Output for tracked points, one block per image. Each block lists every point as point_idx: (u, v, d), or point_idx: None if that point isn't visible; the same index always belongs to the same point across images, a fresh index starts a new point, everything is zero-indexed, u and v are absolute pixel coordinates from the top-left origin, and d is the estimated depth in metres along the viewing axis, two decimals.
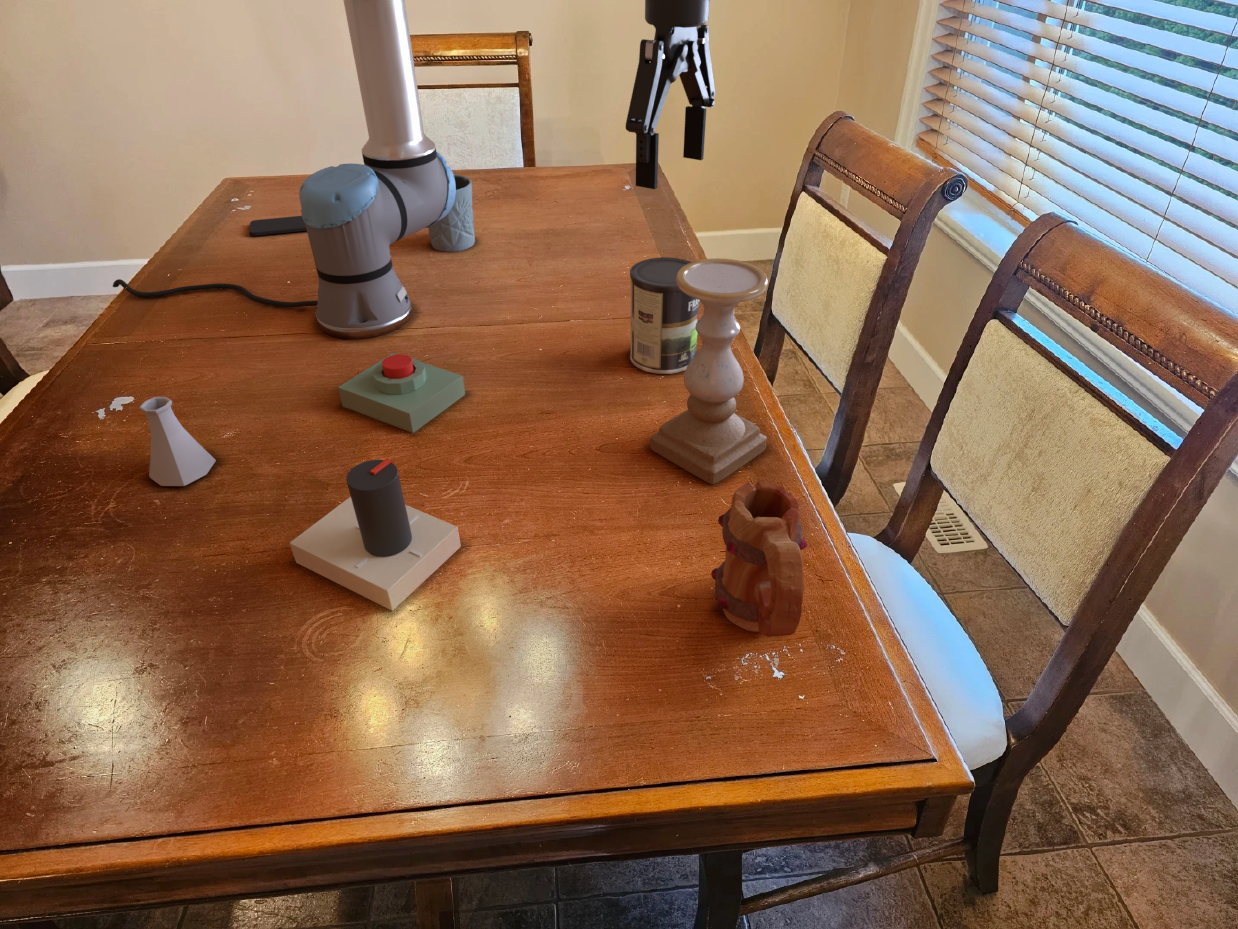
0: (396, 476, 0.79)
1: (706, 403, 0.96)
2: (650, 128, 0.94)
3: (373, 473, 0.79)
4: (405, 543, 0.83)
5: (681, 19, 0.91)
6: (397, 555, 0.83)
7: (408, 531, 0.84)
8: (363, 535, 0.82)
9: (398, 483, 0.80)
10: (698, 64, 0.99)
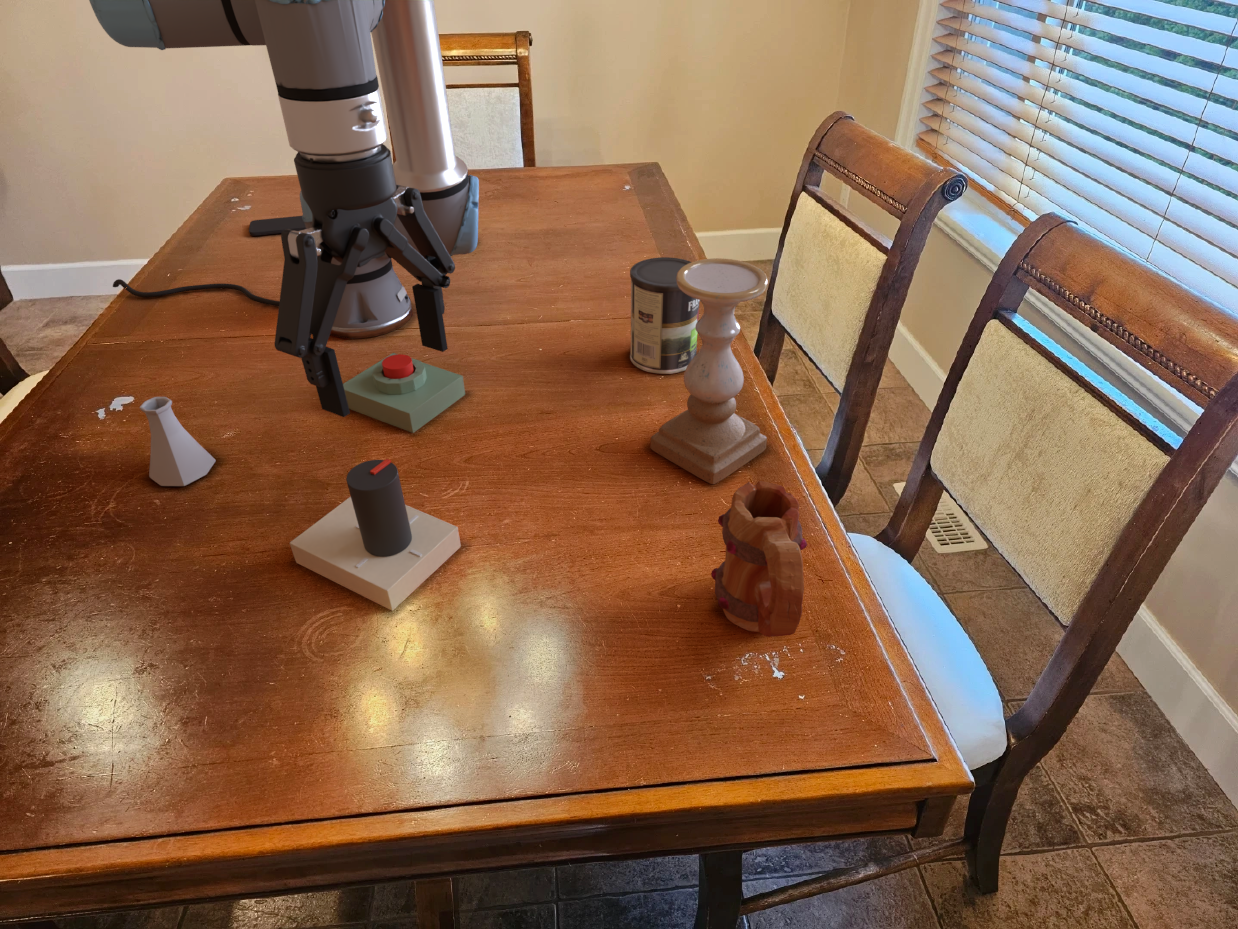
0: (396, 476, 0.79)
1: (706, 403, 0.96)
2: (313, 347, 0.66)
3: (373, 473, 0.79)
4: (405, 543, 0.83)
5: (340, 201, 0.62)
6: (397, 555, 0.83)
7: (408, 531, 0.84)
8: (363, 535, 0.82)
9: (398, 483, 0.80)
10: (402, 244, 0.70)
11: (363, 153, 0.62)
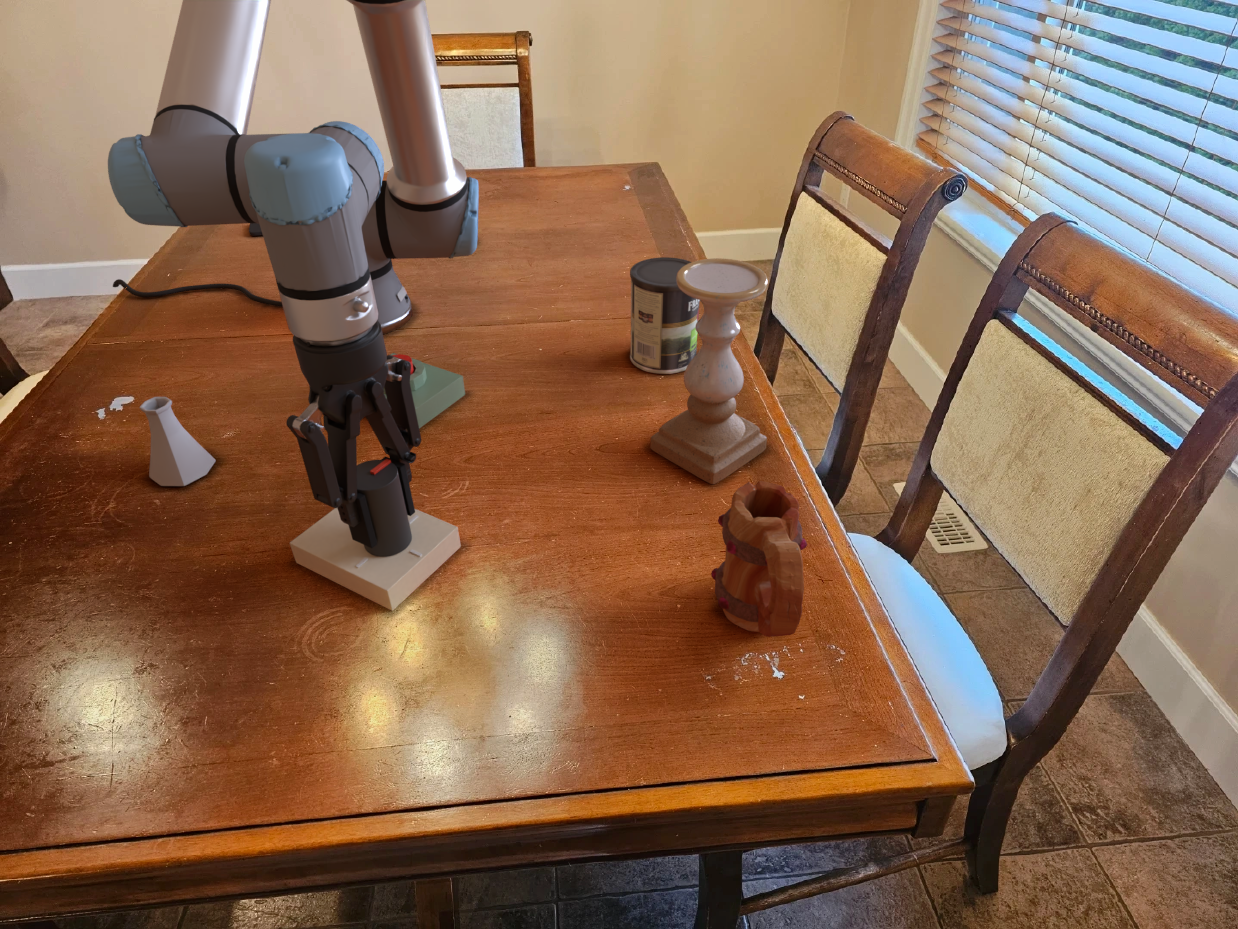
0: (396, 476, 0.79)
1: (706, 403, 0.96)
2: (347, 499, 0.76)
3: (373, 473, 0.79)
4: (404, 543, 0.83)
5: (335, 378, 0.68)
6: (397, 555, 0.83)
7: (408, 531, 0.84)
8: None
9: (398, 483, 0.80)
10: (385, 410, 0.76)
11: (356, 336, 0.68)
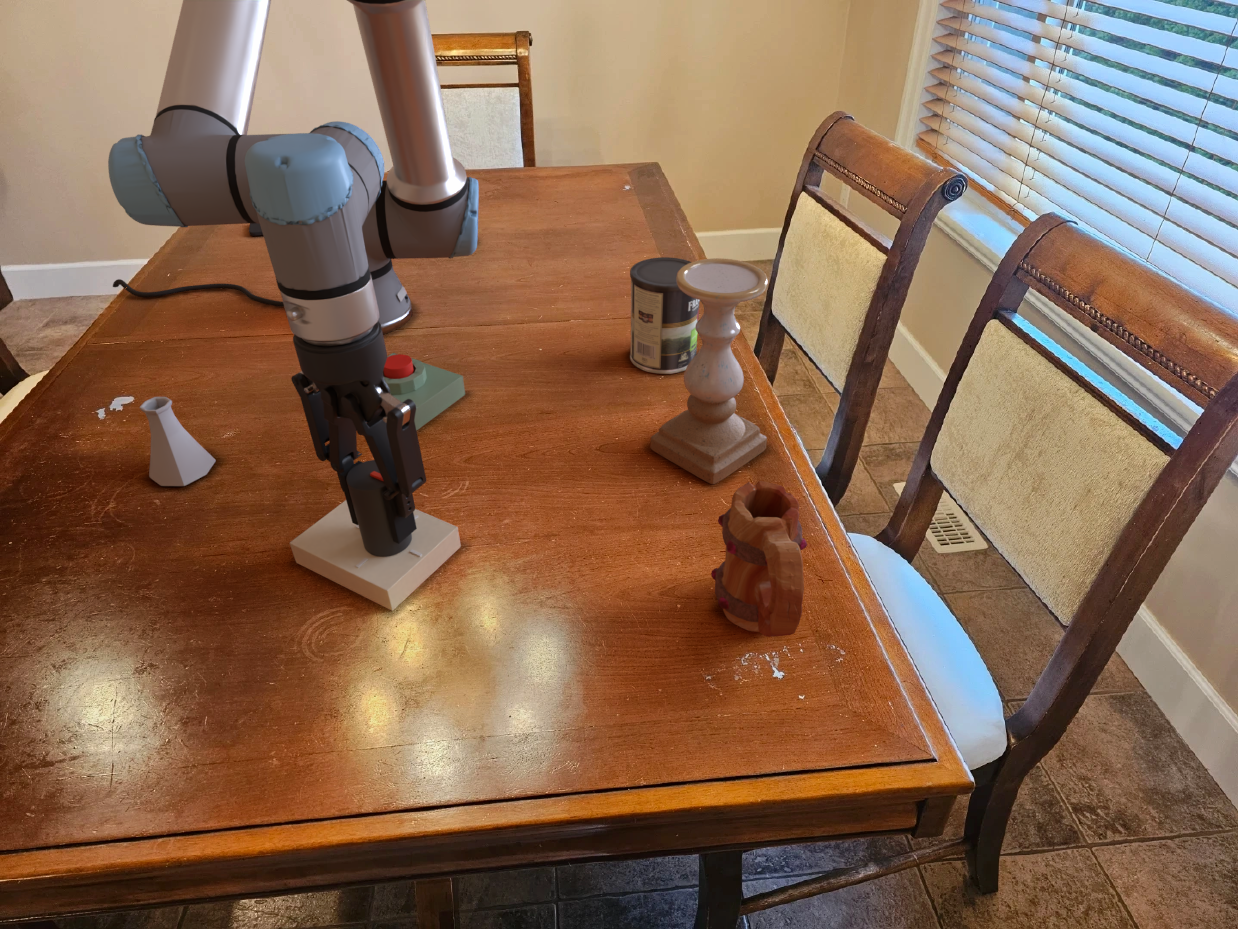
0: (364, 491, 0.77)
1: (706, 403, 0.96)
2: (331, 464, 0.80)
3: (371, 474, 0.79)
4: (370, 549, 0.83)
5: None
6: (397, 555, 0.83)
7: (377, 546, 0.82)
8: None
9: (366, 498, 0.78)
10: (360, 430, 0.73)
11: None
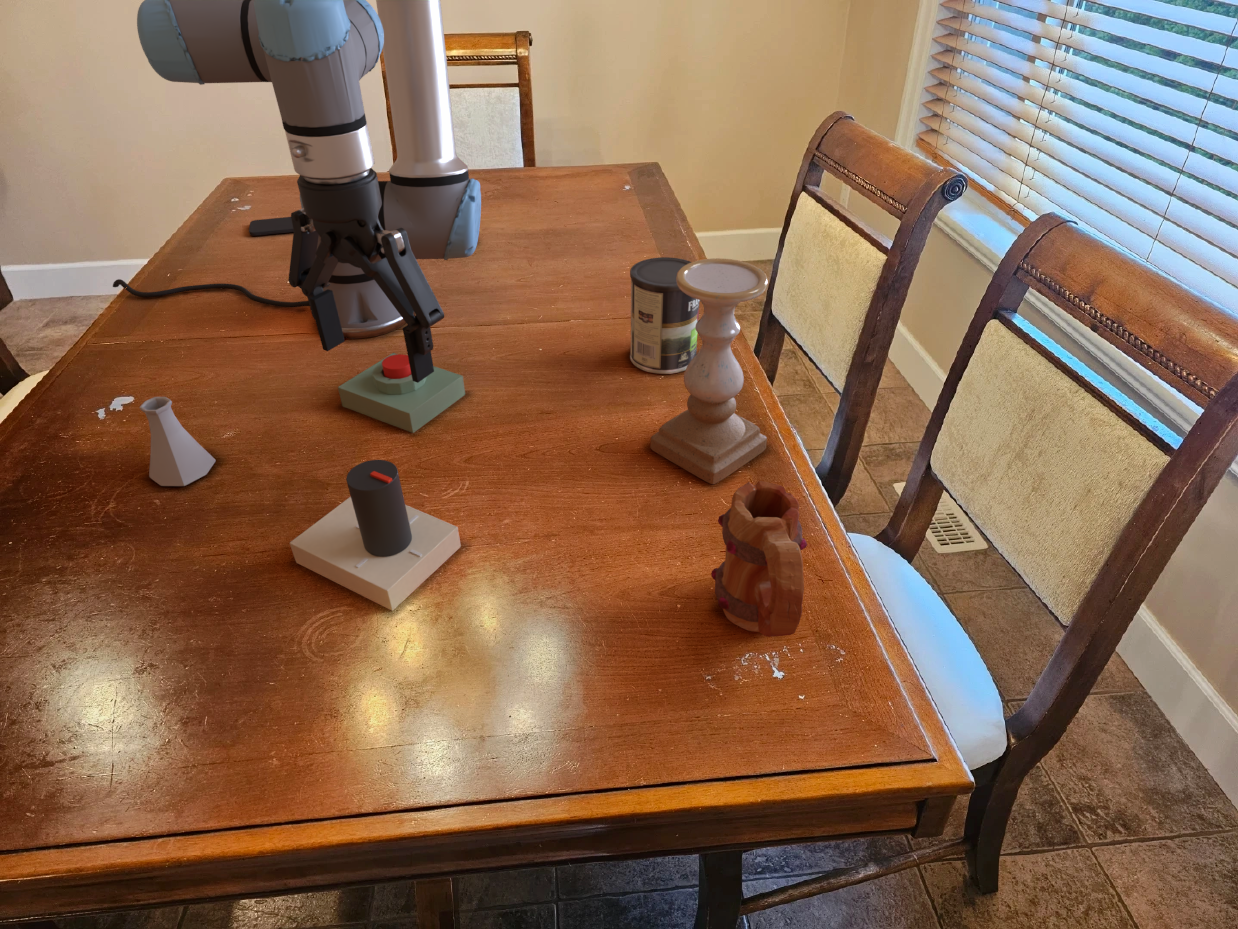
0: (364, 491, 0.77)
1: (706, 403, 0.96)
2: (302, 288, 0.88)
3: (371, 474, 0.79)
4: (370, 549, 0.83)
5: None
6: (397, 555, 0.83)
7: (377, 546, 0.82)
8: None
9: (367, 498, 0.78)
10: (365, 269, 0.80)
11: (307, 178, 0.75)
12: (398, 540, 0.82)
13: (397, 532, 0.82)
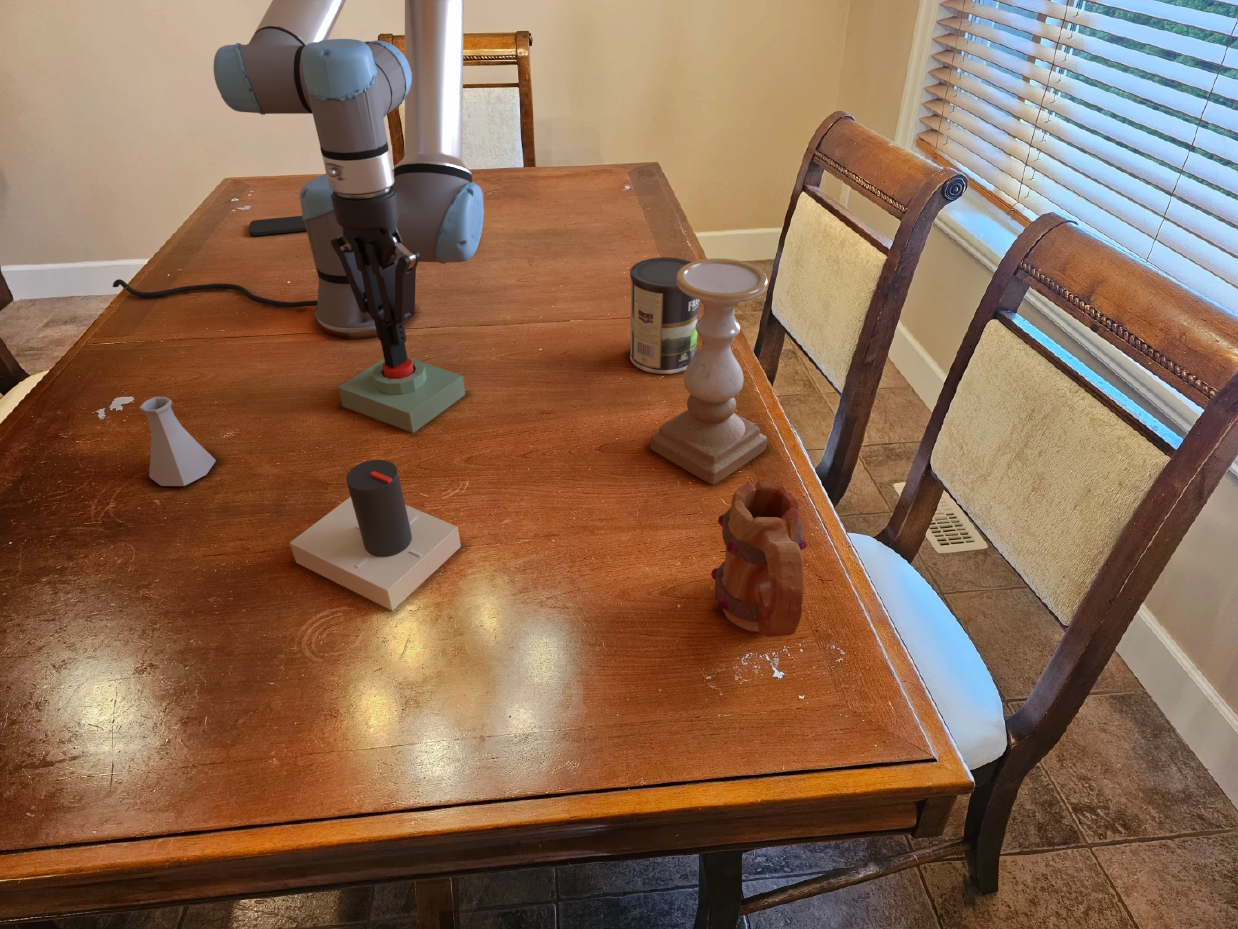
0: (364, 491, 0.77)
1: (706, 403, 0.96)
2: (370, 315, 1.04)
3: (371, 474, 0.79)
4: (370, 549, 0.83)
5: None
6: (397, 555, 0.83)
7: (377, 546, 0.82)
8: None
9: (367, 498, 0.78)
10: (375, 270, 0.98)
11: (339, 193, 0.92)
12: (398, 540, 0.82)
13: (397, 532, 0.82)
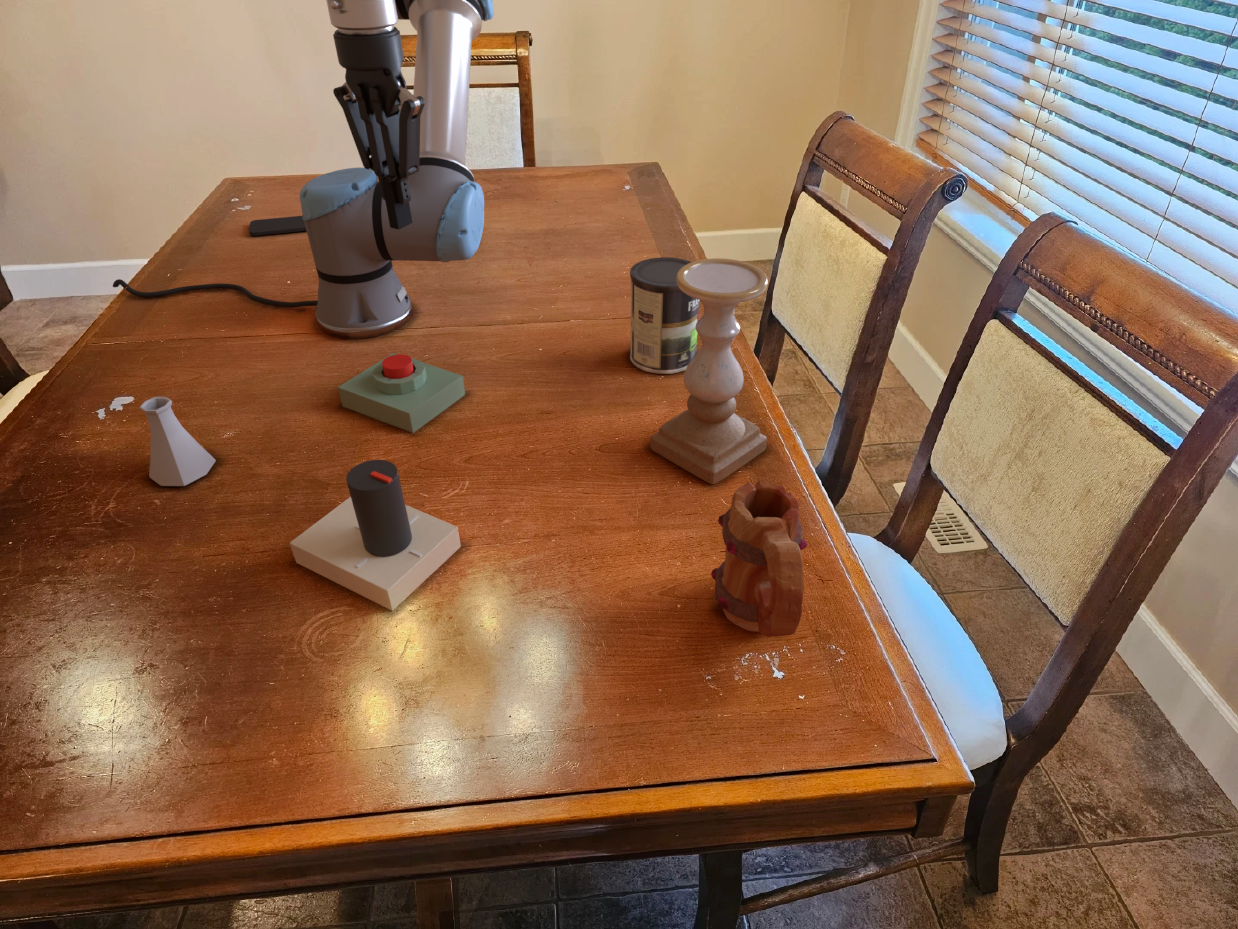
0: (364, 491, 0.77)
1: (706, 403, 0.96)
2: (375, 172, 1.02)
3: (371, 474, 0.79)
4: (370, 549, 0.83)
5: None
6: (397, 555, 0.83)
7: (377, 546, 0.82)
8: None
9: (367, 498, 0.78)
10: (378, 118, 0.96)
11: (342, 30, 0.90)
12: (398, 540, 0.82)
13: (397, 532, 0.82)
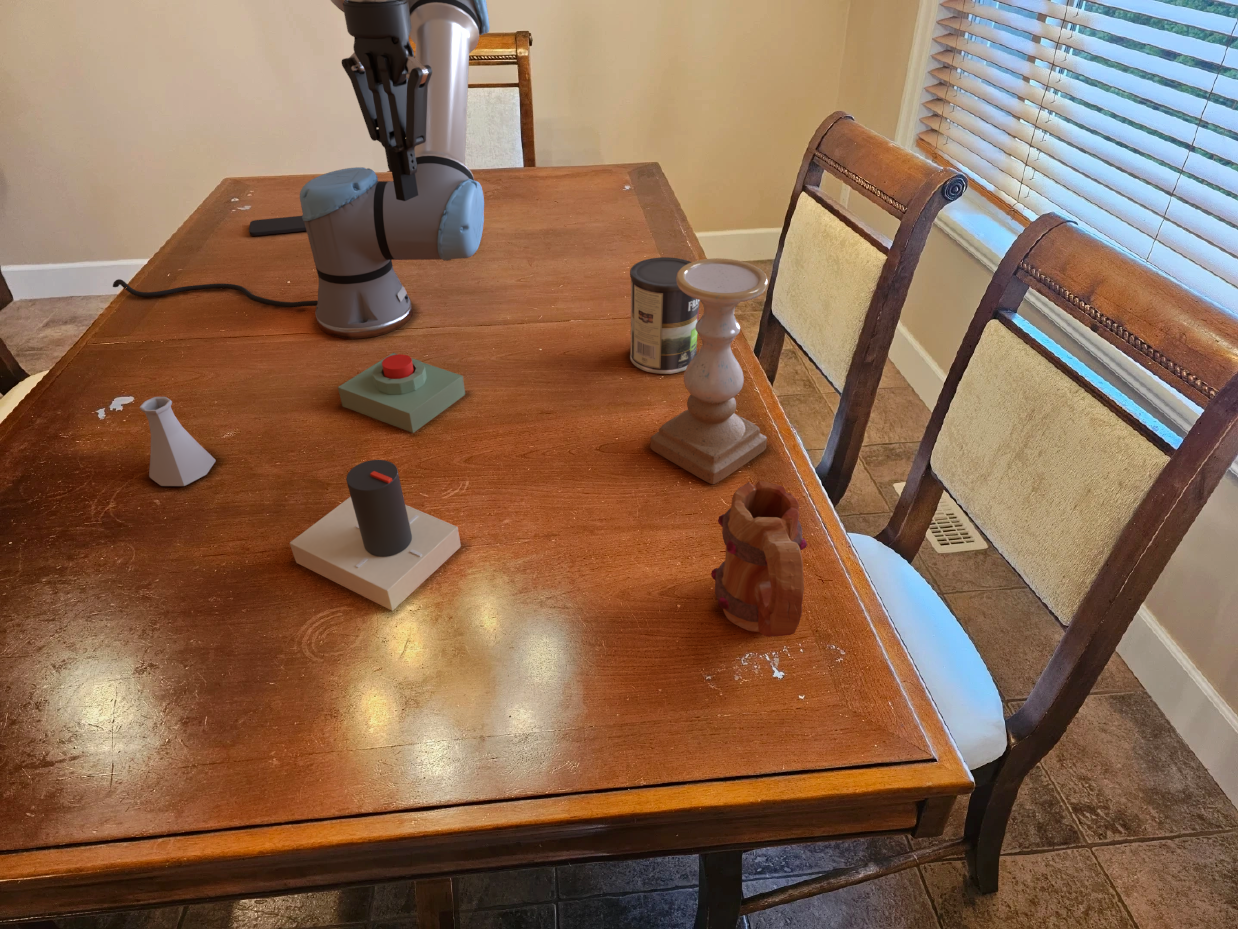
0: (364, 491, 0.77)
1: (706, 403, 0.96)
2: (381, 143, 1.03)
3: (371, 474, 0.79)
4: (370, 549, 0.83)
5: None
6: (397, 555, 0.83)
7: (377, 546, 0.82)
8: None
9: (367, 498, 0.78)
10: (386, 87, 0.97)
11: None
12: (398, 540, 0.82)
13: (397, 532, 0.82)
